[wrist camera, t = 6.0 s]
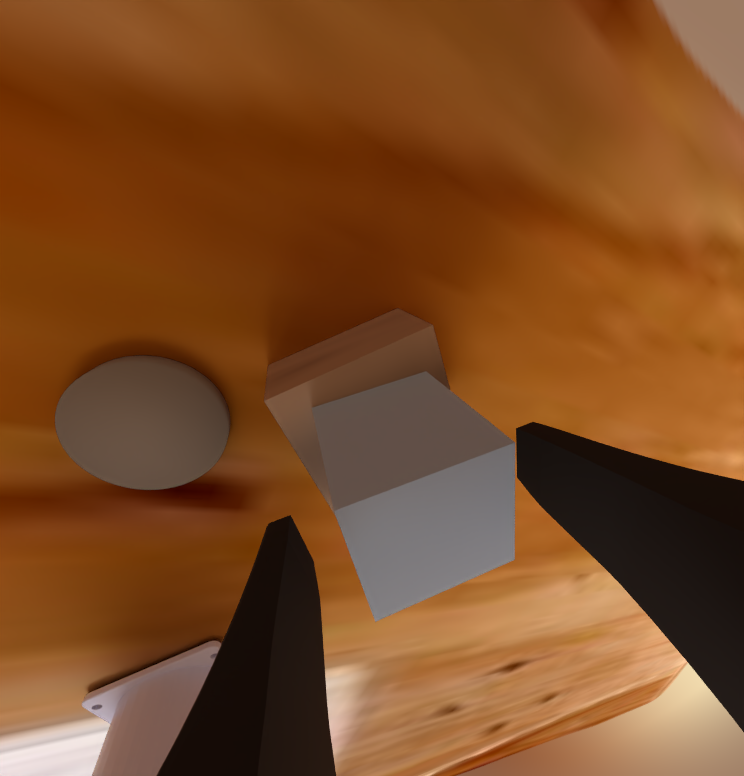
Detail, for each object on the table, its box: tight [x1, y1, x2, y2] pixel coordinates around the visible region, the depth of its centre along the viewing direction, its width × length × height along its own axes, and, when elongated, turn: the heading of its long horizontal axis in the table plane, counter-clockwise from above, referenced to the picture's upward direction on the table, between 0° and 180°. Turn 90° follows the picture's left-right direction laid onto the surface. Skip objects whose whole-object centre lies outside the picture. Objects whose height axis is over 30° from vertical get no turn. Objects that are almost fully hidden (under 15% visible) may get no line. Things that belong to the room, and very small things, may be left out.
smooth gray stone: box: [55, 355, 231, 490], centre depth 13 cm, size 6×6×1 cm
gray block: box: [312, 371, 515, 622], centre depth 10 cm, size 4×4×5 cm
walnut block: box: [264, 308, 450, 516], centre depth 14 cm, size 6×6×4 cm
